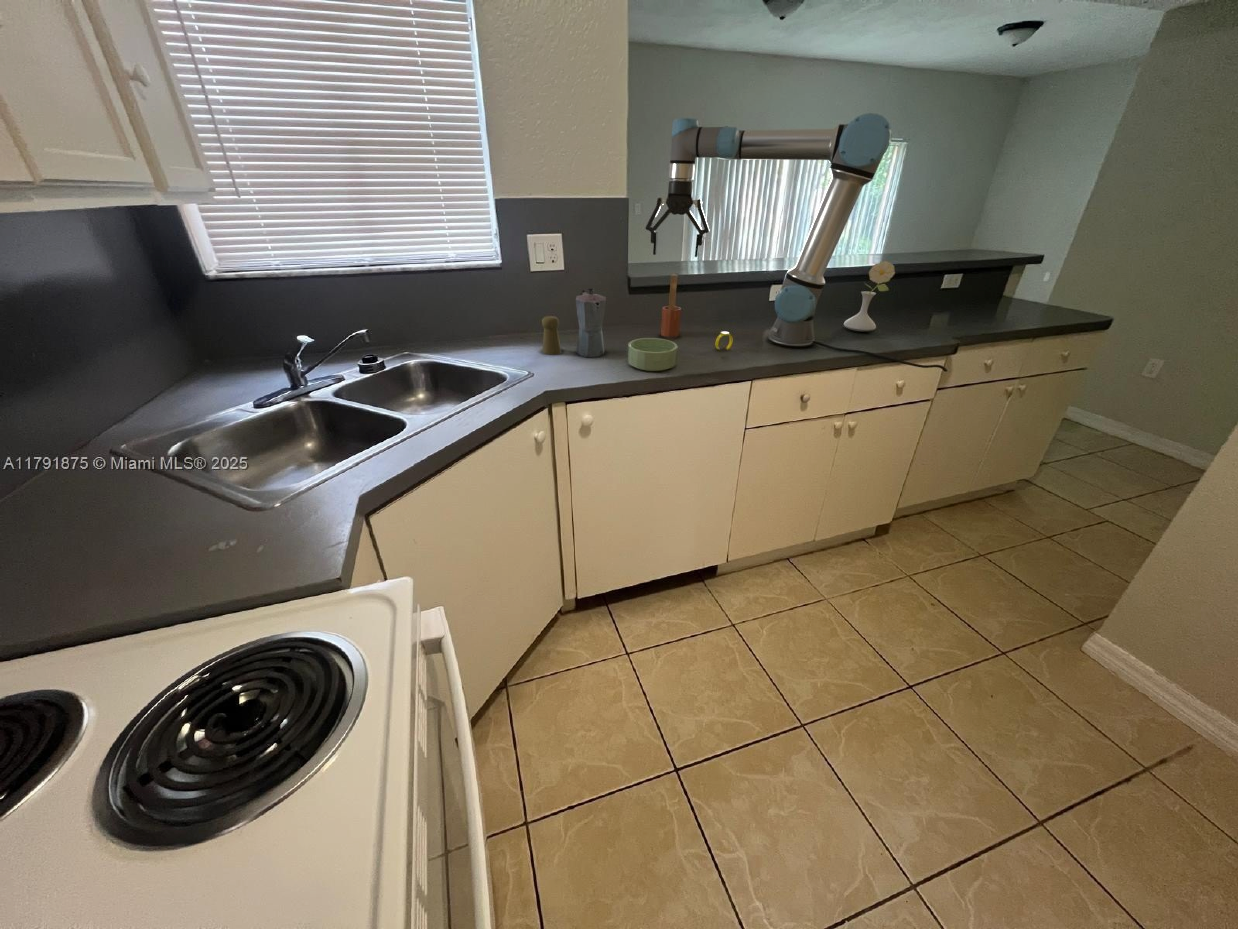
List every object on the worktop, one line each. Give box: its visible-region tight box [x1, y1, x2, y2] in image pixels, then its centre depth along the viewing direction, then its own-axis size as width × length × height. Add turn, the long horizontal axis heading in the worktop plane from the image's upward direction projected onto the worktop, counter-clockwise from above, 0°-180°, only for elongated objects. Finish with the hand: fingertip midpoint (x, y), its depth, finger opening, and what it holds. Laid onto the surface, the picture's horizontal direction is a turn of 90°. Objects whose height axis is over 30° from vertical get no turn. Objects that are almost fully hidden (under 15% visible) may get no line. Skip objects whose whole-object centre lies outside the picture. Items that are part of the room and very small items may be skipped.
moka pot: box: [575, 288, 607, 358], centre depth 150 cm, size 10×15×20 cm, turn 27°
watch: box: [714, 330, 734, 351], centre depth 159 cm, size 6×3×6 cm, turn 114°
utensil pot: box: [660, 305, 682, 338], centre depth 170 cm, size 6×6×10 cm
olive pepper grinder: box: [541, 315, 562, 356], centre depth 153 cm, size 6×6×11 cm
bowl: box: [627, 337, 678, 372], centre depth 145 cm, size 15×15×6 cm
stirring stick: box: [668, 274, 678, 310], centre depth 167 cm, size 2×2×20 cm
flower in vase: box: [843, 260, 896, 333], centre depth 179 cm, size 13×11×25 cm
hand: (675, 255), depth 159 cm, fingers open, 13 cm apart
